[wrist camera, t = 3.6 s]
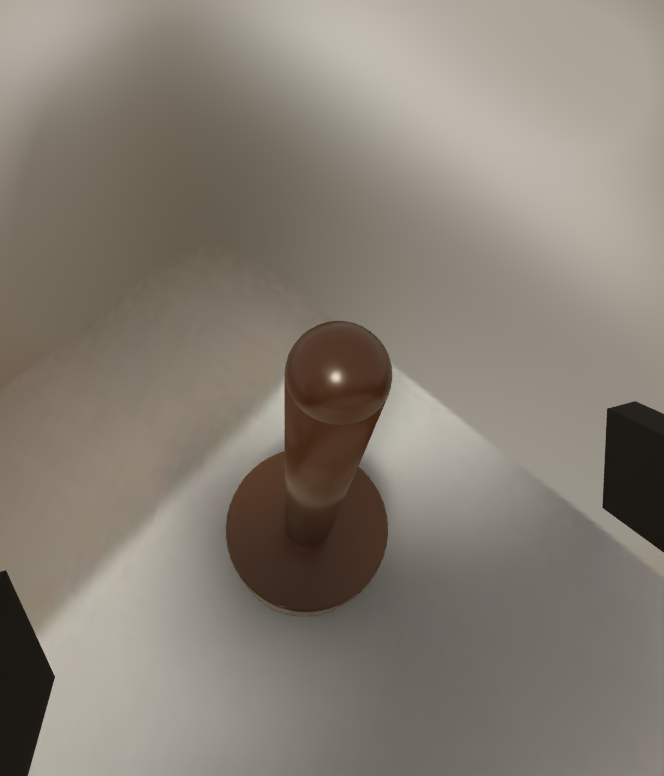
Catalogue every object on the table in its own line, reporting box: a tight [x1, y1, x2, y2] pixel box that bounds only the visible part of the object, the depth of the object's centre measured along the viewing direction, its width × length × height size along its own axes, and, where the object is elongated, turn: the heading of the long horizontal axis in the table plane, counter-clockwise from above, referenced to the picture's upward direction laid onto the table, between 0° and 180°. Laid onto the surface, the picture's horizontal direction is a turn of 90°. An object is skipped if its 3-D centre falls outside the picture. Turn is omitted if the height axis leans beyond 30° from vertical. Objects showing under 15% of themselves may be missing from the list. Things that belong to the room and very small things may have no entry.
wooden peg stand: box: [226, 321, 392, 616], centre depth 14 cm, size 6×6×15 cm
